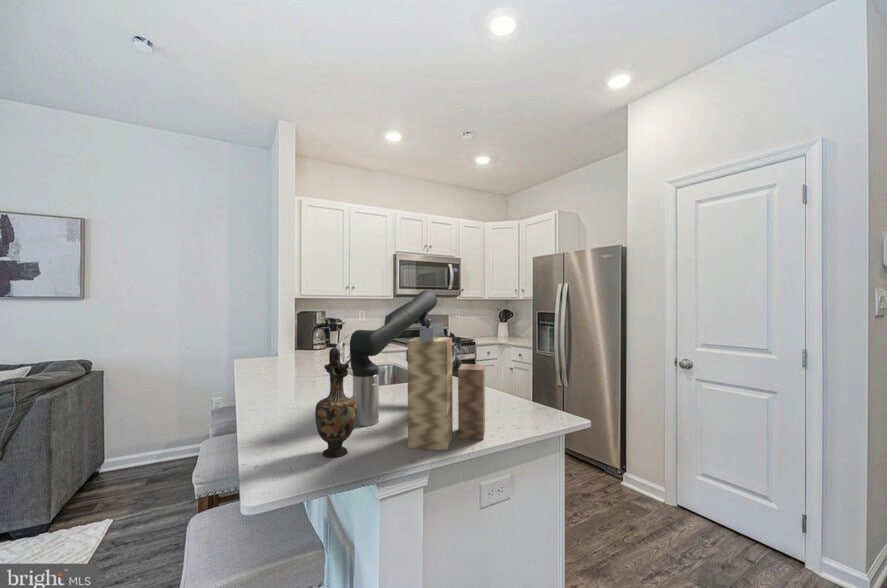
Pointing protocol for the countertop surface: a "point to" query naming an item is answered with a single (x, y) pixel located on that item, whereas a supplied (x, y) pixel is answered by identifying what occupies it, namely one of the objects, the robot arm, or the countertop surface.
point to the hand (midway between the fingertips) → (438, 334)
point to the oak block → (430, 394)
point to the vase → (335, 409)
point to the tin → (431, 331)
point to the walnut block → (471, 401)
